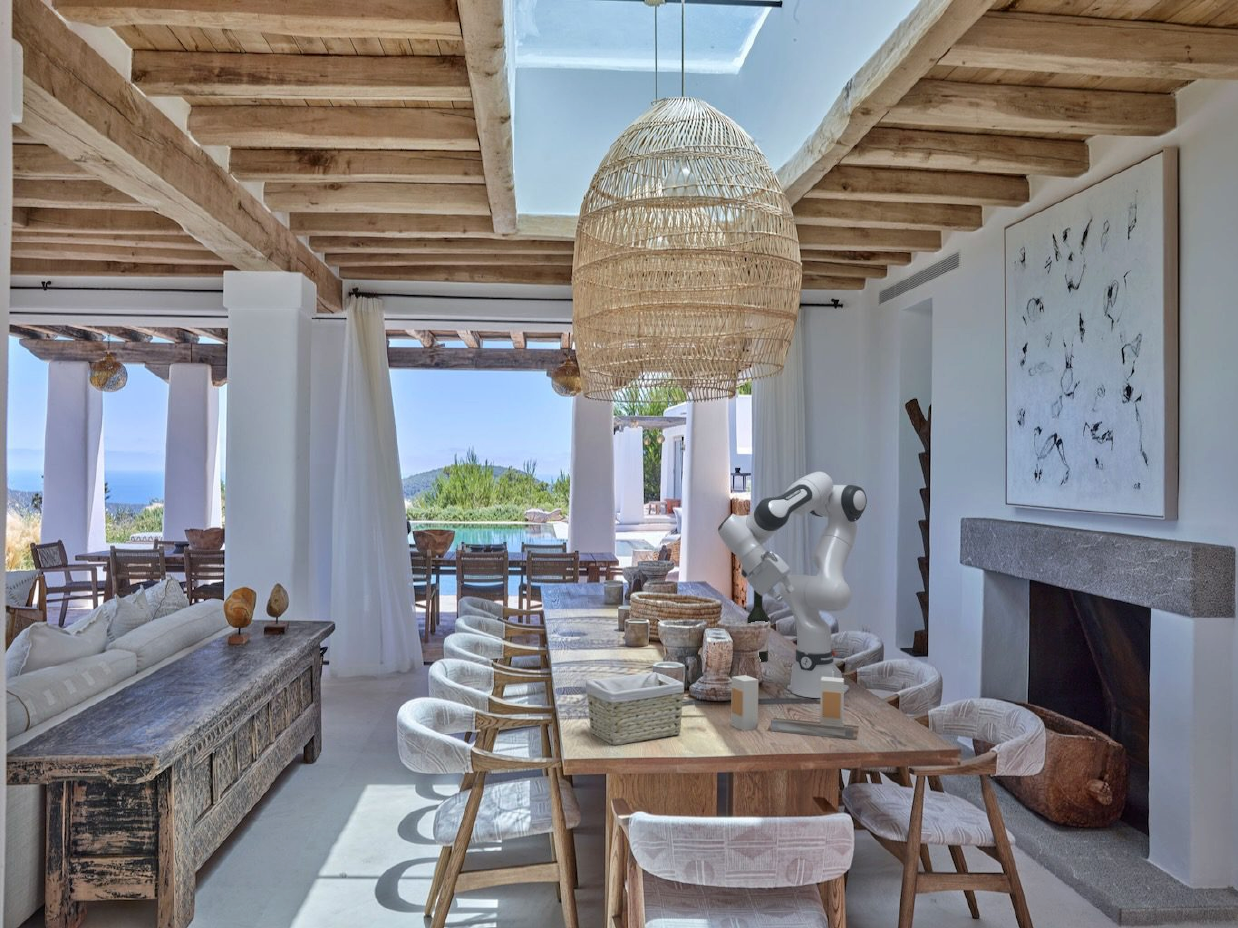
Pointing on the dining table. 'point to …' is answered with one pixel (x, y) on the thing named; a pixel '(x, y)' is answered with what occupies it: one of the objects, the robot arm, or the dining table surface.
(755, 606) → the wine bottle
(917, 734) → the dining table surface
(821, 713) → the carton
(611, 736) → the storage basket
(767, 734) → the dining table surface
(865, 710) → the dining table surface
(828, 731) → the shelf board
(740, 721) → the cream carton
